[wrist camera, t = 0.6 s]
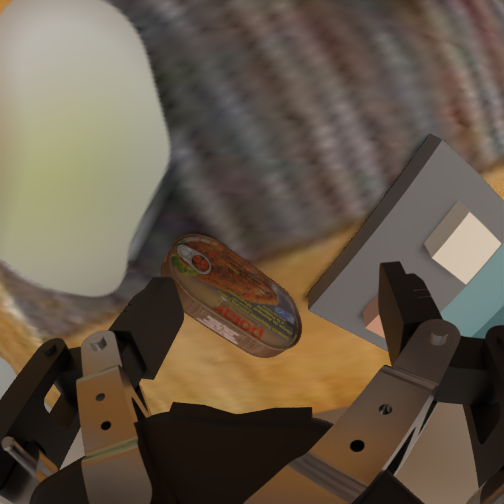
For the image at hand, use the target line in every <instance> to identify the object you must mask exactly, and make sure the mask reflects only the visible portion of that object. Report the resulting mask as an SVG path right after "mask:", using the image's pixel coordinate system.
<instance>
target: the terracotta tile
mask: <svg viewBox="0 0 504 504" xmlns="http://www.w3.org/2000/svg"><path fill="white" fill-rule="evenodd" d="M363 317H364V324H365V328H366V329H368V330H370V331H372V332H374V333H376V334H378V335H380V336H381V337H383V338H385V335H384V331H383V327H382V323H381V319H380V316H379V310H378V295H377V296H376V297H375V298H374V299H373V300H372V301H371V302H370V303H369V304H368V305H367V306H366V307H365V309H364V310H363Z"/></svg>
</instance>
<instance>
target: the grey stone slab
mask: <svg viewBox="0 0 504 504" xmlns="http://www.w3.org/2000/svg"><path fill="white" fill-rule="evenodd" d="M458 200H459V201H460V202H461V203H462V204H463V205H464V206H465V207H466V208H467V209H468V210H469V211H471V212H472V213H473V214H474V215H475V216H476V217H477V218H478V219H479V220H480V221H481V222H482V223H483V224H484V225H485V226H486V227H487V228H488V229H489V230H490V231H491V232H492V233H493V235H494V236H495V237H496V238H497V239H498V240H499V241H500V243H501V245H500V246H499V247H498V249H499V248H500V247H501V246H502V245H503V243H504V201H503V200H502V198H501V197H500V196H499V195H498V194H497V193H496V192H495V191H494V190H493V189H492V188H491V187H490V185H489V184H488V183H487V182H486V181H485V180H484V179H483V178H482V177H481V176H480V175H479V174H478V173H477V172H476V171H475V170H474V169H473V168H472V167H471V166H470V165H469V164H468V163H467V162H466V161H465V160H464V159H462V158H461V157H460V156H459V155H458V154H457V153H456V152H455V151H454V150H453V149H452V148H451V147H449V146H448V145H447V144H446V143H445V142H444V141H443V140H441V139H439V138H438V137H436V136H434V135H432V134H429V135H428V137H427V138H426V140H425V141H424V143H423V144H422V146H421V147H420V148H419V150H418V151H417V153H416V154H415V156H414V157H413V158H412V160H411V161H410V163H409V164H408V165H407V167H406V168H405V170H404V171H403V172H402V174H401V175H400V177H399V178H398V179H397V181H396V182H395V183H394V185H393V186H392V188H391V189H390V190H389V192H388V193H387V194H386V196H385V197H384V198H383V200H382V201H381V202H380V204H379V205H378V206H377V208H376V209H375V210H374V212H373V213H372V214H371V216H370V217H369V218H368V219H367V221H366V222H365V223H364V225H363V226H362V227H361V229H360V230H359V231H358V232H357V234H356V235H355V236H354V237H353V239H352V240H351V241H350V243H349V244H348V245H347V246H346V248H345V249H344V250H343V251H342V253H341V254H340V255H339V256H338V258H337V259H336V260H335V261H334V262H333V264H332V265H331V266H330V267H329V269H328V270H327V271H326V272H325V273H324V275H323V276H322V277H321V278H320V280H319V281H318V282H317V283H316V284H315V286H314V287H313V288H312V289H311V290H310V291H309V305H308V310H309V311H310V312H312V313H314V314H316V315H318V316H320V317H322V318H324V319H326V320H328V321H330V322H332V323H334V324H335V325H337V326H339V327H341V328H343V329H345V330H347V331H349V332H351V333H353V334H355V335H357V336H359V337H361V338H363V339H365V340H367V341H369V342H371V343H373V344H375V345H376V346H378V347H380V348H382V349H384V350H386V351H388V348H387V343H386V339H385V338H383V337H381V336H380V335H378V334H376V333H374V332H372V331H370V330H368V329H366V328H365V324H364V317H363V310H364V309H365V307H366V306H367V305H368V304H369V303H370V302H371V301H372V300H373V299H374V298H375V297H376V296H377V295H378V289H379V266H380V263H383V262H395V261H400V262H401V264H402V266H403V268H404V270H405V272H406V274H410V273H414V274H416V275H417V276H418V277H420V278H421V279H422V280H423V281H424V283H425V284H426V286H427V288H428V290H429V292H430V294H431V297H432V298H433V300H434V302H435V304H436V306H437V308H438V310H439V312H440V313H441V312H442V311H443V310H444V309H445V308H446V307H447V306H448V305H449V304H450V303H451V302H452V301H453V300H454V299H455V298H456V296H457V295H458V294H459V293H460V292H461V291H462V290H463V289H464V288H465V287H466V286H467V285H468V284H469V283H470V282H471V281H472V279H473V278H474V277H475V276H476V275H477V274H478V273H479V272H480V271H481V269H482V268H483V267H484V266H485V265H486V264H487V263H488V261H489V260H490V259H491V258H492V257H493V255H494V254H495V253H496V252H497V251H498V249H497V250H496V251H495V252H494V254H493V255H492V256H491V257H490V258H489V259H488V261H487V262H486V263H485V264H484V265H483V266H482V268H481V269H480V270H479V271H478V272H477V273H476V274H475V275H474V277H473V278H472V279H471V280H470V281H469V282H468V283H467V284H464V283H463V282H462V281H461V280H459V279H458V278H457V277H456V276H454V275H453V274H452V273H451V272H449V271H448V270H447V269H445V268H444V267H443V266H442V265H440V264H439V263H438V262H436V261H435V260H434V259H432V257H431V256H430V254H429V252H428V250H427V248H426V246H425V245H424V242H425V241H426V240H427V239H428V237H429V236H430V235H431V234H432V233H433V231H434V230H435V229H436V228H437V226H438V225H439V224H440V223H441V221H442V220H443V219H444V218H445V216H446V215H447V214H448V213H449V211H450V210H451V209H452V207H453V206H454V205H455V203H456V202H457V201H458Z"/></svg>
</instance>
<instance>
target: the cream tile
mask: <svg viewBox="0 0 504 504" xmlns="http://www.w3.org/2000/svg"><path fill="white" fill-rule="evenodd" d="M424 245H425V246H426V248H427V250H428V252H429V254H430V256H431V257H432V259H434V260H435V261H436V262H438V263H439V264H440V265H442V266H443V267H444V268H445V269H447V270H448V271H449V272H451V273H452V274H453V275H454V276H456V277H457V278H458V279H459V280H461V281H462V282H463V283H464V284H467V283H468V282H469V281H470V280H471V279H472V278H473V277H474V275H475V274H476V273H477V272H478V271H479V270H480V269H481V268H482V266H483V265H484V264H485V263H486V262H487V261H488V259H489V258H490V257H491V256H492V255H493V254H494V252H495V251H496V250H497V249H498V247H499V246H500V245H501V243H500V241H499V240H498V239H497V238H496V237H495V236H494V235H493V233H492V232H491V231H490V230H489V229H488V228H487V227H486V226H485V225H484V224H483V223H482V222H481V221H480V220H479V219H478V218H477V217H476V216H475V215H474V214H473V213H472V212H471V211H469V210H468V209H467V208H466V207H465V206H464V205H463V204H462V203H461V202H460V201H459V200H458V201H457V202H456V203H455V205H454V206H453V207H452V209H451V210H450V211H449V213H448V214H447V215H446V216H445V218H444V219H443V220H442V221H441V223H440V224H439V225H438V226H437V228H436V229H435V230H434V231H433V233H432V234H431V235H430V236H429V237H428V239H427V240H426V241H425V242H424Z"/></svg>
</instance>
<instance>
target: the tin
mask: <svg viewBox="0 0 504 504" xmlns="http://www.w3.org/2000/svg"><path fill="white" fill-rule="evenodd" d="M161 277H172V278H173V279H174V282H175V285H176V288H177V291H178V294H179V297H180V300H181V303H182V306H183V310H184V312H185V313H186V314H188V315H189V316H191V317H192V318H194V319H195V320H196V321H198V322H200V323H201V324H203V325H204V326H206V327H207V328H209V329H210V330H212V331H213V332H215V333H217V334H218V335H220V336H221V337H223V338H224V339H226V340H228V341H229V342H231V343H232V344H234V345H236V346H237V347H239V348H240V349H242V350H244V351H245V352H247V353H249V354H251V355H253V356H256V357H261V358H270V357H274V356H276V355H278V354H280V353H282V352H284V351H285V350H287V349H290V348H292V347H294V346H295V345H296V344H297V343H298V341H299V339H300V337H301V333H302V323H301V318H300V315H299V312H298V309H297V307H296V305H295V303H294V302H293V300H292V298H291V297H290V296H289V295H288V293H287V292H286V291H285V290H284V289H283V288H282V287H281V286H280V285H278V284H277V283H276V282H274V281H273V280H272V279H270V278H269V277H267V276H266V275H265V274H263V273H262V272H261V271H259V270H258V269H256V268H255V267H254V266H252V265H251V264H249V263H248V262H247V261H245V260H244V259H243V258H241V257H240V256H239V255H237V254H236V253H234V252H233V251H232V250H230V249H229V248H228V247H226V246H225V245H224V244H222V243H221V242H219V241H217V240H216V239H213V238H211V237H209V236H205V235H201V234H187V235H184V236H182V237H180V238H178V239H177V240H176V241H175V242H174V243H173V245H172V247H171V250H170V251H169V252H168V254H167V255H166V257H165V259H164V261H163V264H162V268H161Z"/></svg>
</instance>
